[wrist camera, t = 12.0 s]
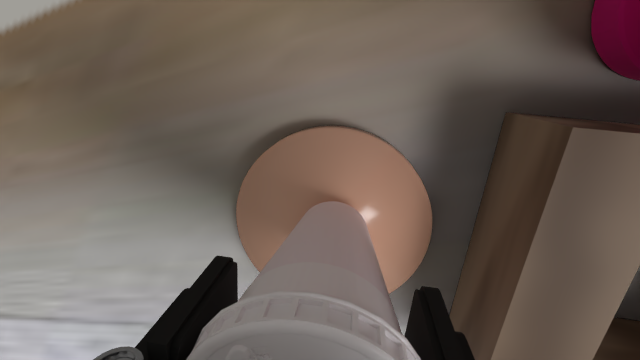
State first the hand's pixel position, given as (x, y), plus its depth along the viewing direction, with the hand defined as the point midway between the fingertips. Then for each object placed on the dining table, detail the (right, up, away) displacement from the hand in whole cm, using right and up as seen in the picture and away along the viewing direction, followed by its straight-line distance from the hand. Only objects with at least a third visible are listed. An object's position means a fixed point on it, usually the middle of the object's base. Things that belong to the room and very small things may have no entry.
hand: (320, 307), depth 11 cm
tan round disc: (+1, +2, +7) cm, 7 cm away
